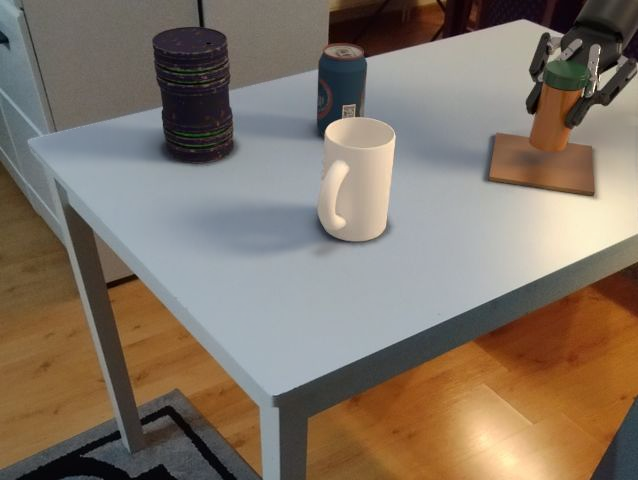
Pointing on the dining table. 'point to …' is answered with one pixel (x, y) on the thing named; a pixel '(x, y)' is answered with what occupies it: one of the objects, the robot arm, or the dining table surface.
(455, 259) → the dining table surface
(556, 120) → the jar
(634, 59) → the robot arm
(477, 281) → the dining table surface
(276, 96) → the dining table surface
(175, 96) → the dark ridged cylinder
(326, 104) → the soda can
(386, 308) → the dining table surface
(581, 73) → the jar lid
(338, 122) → the mug
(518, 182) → the mat
